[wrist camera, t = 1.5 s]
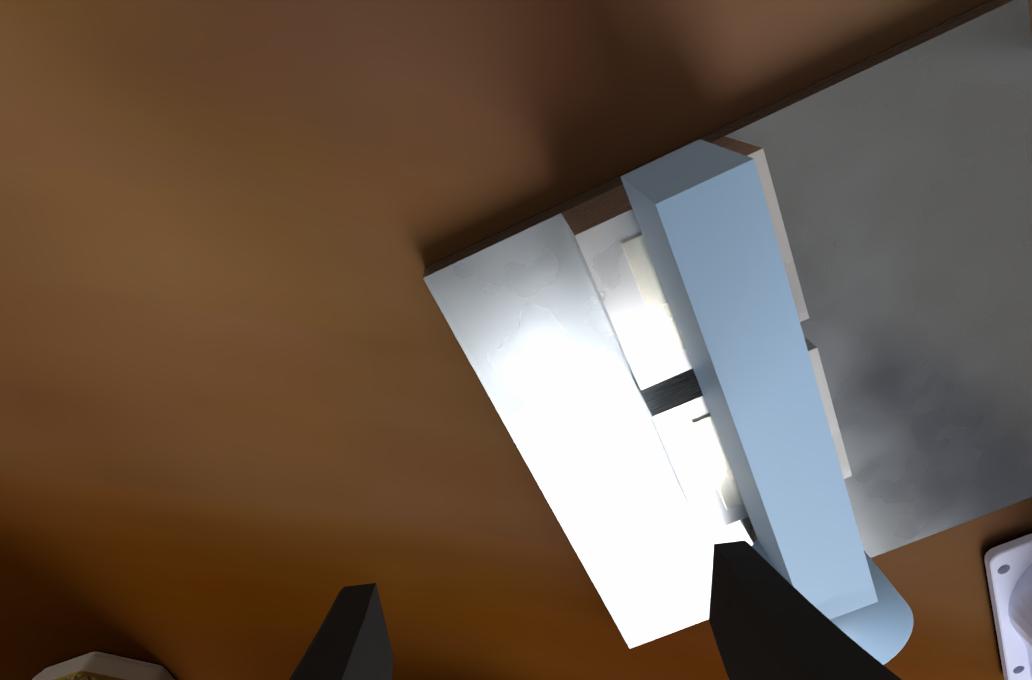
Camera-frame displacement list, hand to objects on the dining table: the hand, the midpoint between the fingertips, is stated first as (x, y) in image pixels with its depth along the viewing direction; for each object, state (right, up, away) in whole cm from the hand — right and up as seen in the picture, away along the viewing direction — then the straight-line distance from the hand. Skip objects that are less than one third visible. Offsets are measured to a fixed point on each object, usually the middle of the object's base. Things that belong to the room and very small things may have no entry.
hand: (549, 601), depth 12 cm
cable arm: (+6, +3, +6) cm, 9 cm away
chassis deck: (+8, +4, +10) cm, 14 cm away
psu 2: (+4, +8, +7) cm, 11 cm away
